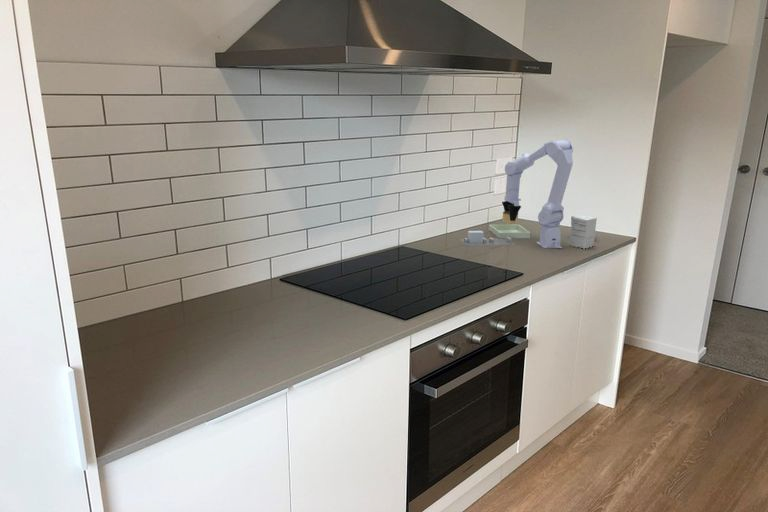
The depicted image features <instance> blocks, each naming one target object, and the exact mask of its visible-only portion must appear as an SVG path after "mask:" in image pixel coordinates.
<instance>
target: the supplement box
mask: <svg viewBox="0 0 768 512" xmlns="http://www.w3.org/2000/svg"><path fill="white" fill-rule="evenodd" d="M571 217H572V216H571ZM597 221H598V219H597V217H594V216H588V215H583V214H580V215H577V216H574V217H572V227H571V226H570V227H571V230H570V239H569V246H570V245H572V246H571V247H573V246H576V247H575V248H577V247H580V248H579V249H581V248H583V249H582V250H586V249H589V247H590V248H593V247H594V246H595V237H596V228H597V227H596V226H597ZM592 246H593V247H592ZM585 248H586V249H585Z"/></svg>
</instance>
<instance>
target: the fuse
mask: <svg viewBox="0 0 768 512" xmlns="http://www.w3.org/2000/svg"><path fill="white" fill-rule="evenodd" d="M484 232H485V231H483V230H468V231H467V238H468V239H469V243H483V238H484Z"/></svg>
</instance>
